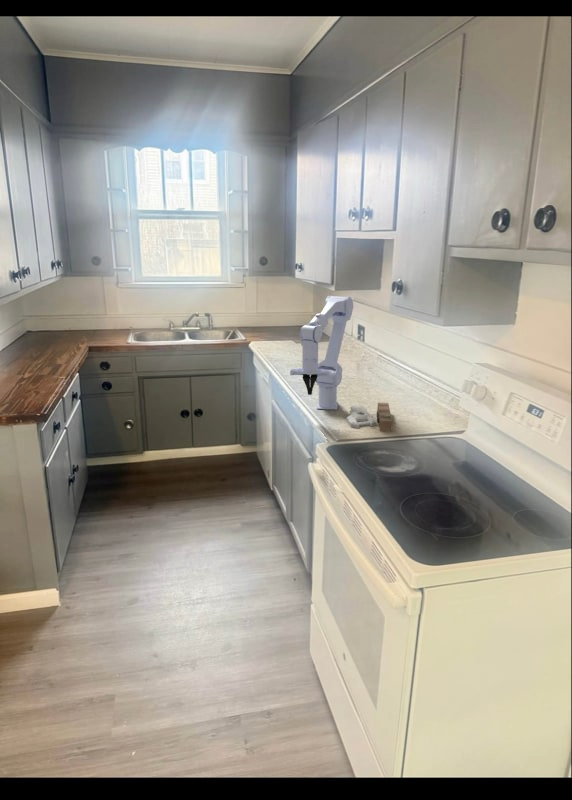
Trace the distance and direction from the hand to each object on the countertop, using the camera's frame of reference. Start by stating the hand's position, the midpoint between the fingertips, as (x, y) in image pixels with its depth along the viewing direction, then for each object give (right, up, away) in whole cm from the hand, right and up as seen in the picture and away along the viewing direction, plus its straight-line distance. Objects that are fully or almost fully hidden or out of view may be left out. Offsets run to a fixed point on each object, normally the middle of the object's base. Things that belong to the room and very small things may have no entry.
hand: (310, 394), depth 194 cm
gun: (+18, -10, +1) cm, 21 cm away
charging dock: (+27, -10, -1) cm, 29 cm away
